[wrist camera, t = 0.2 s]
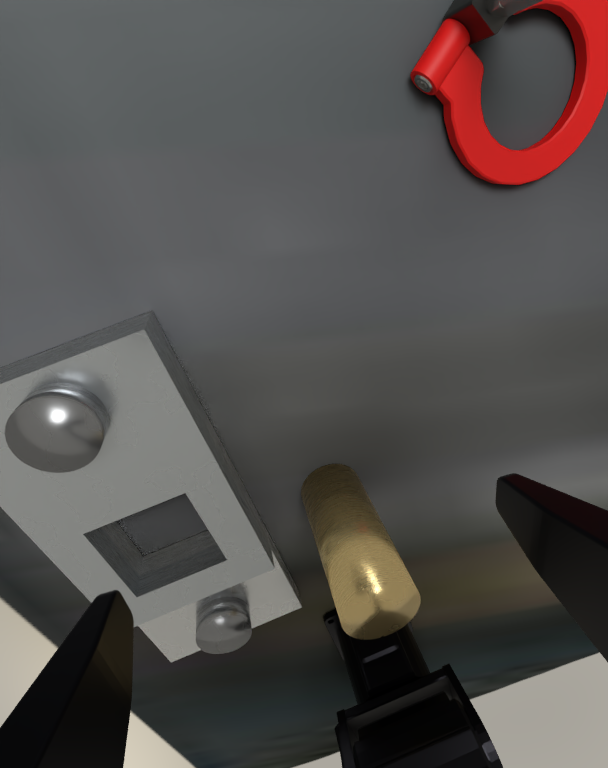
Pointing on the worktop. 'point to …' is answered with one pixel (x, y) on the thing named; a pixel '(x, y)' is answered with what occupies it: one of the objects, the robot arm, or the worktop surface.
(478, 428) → the worktop surface
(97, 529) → the plate with square hole
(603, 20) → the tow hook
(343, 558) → the brass pin
